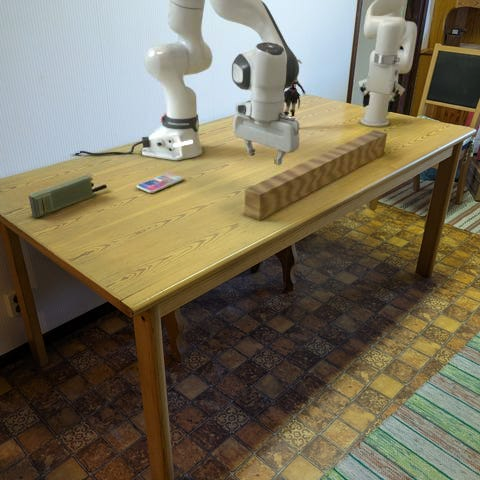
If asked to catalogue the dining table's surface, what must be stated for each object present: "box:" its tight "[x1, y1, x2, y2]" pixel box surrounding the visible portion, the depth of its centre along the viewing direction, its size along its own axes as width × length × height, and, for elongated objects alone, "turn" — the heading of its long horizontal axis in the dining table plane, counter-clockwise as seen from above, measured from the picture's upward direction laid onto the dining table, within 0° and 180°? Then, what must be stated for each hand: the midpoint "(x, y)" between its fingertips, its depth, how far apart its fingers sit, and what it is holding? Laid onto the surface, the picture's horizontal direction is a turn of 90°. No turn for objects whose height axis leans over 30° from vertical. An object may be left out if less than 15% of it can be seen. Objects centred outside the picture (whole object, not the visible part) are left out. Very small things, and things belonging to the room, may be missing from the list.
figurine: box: [284, 58, 306, 117], centre depth 211 cm, size 15×6×30 cm, turn 132°
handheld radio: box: [28, 173, 108, 219], centre depth 150 cm, size 7×3×25 cm
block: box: [244, 130, 388, 221], centre depth 167 cm, size 75×6×8 cm, turn 139°
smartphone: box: [136, 172, 184, 194], centre depth 164 cm, size 7×1×15 cm
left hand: (264, 159), depth 140 cm, fingers open, 8 cm apart
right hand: (377, 108), depth 182 cm, fingers open, 9 cm apart
